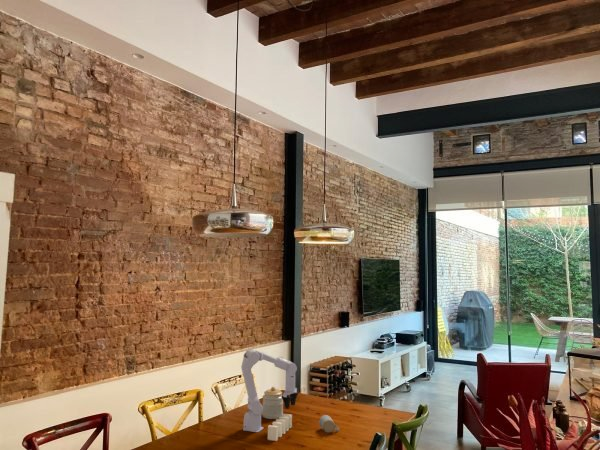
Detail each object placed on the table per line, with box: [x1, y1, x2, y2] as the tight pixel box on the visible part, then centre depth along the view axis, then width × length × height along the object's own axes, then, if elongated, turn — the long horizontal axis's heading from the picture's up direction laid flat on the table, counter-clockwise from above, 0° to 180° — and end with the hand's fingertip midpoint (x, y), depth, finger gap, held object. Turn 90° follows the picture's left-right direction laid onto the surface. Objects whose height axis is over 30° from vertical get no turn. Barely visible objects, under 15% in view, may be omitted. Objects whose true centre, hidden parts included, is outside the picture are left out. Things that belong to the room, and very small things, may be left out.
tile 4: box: [271, 421, 283, 438], centre depth 251 cm, size 5×2×7 cm, turn 70°
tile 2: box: [278, 416, 290, 432], centre depth 260 cm, size 5×2×7 cm, turn 70°
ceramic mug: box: [318, 414, 340, 433], centre depth 260 cm, size 11×8×8 cm
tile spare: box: [267, 424, 279, 442], centre depth 245 cm, size 5×2×7 cm, turn 70°
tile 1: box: [283, 413, 293, 429], centre depth 265 cm, size 5×2×7 cm, turn 70°
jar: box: [261, 386, 284, 420], centre depth 285 cm, size 13×13×18 cm
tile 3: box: [275, 418, 286, 435], centre depth 255 cm, size 5×2×7 cm, turn 70°
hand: (290, 406), depth 269 cm, fingers open, 7 cm apart
